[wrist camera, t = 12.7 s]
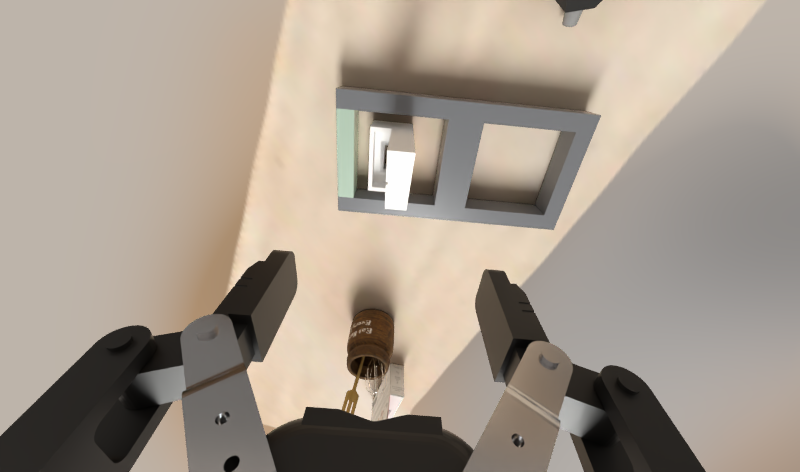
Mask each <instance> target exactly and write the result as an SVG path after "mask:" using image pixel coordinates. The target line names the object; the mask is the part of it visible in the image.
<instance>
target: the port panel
mask: <svg viewBox="0 0 800 472" xmlns="http://www.w3.org/2000/svg"><path fill="white" fill-rule="evenodd" d="M358 111H368V112H378V113H388V114H398V115H408V116H418V117H428V118H438V119H445V122H444V128H443V134H442V141H441V147H440V153H439V159H438V166H437V172H436V178H435V184H434V191H433V195H423V194H412V193H409V197H408V204H407V210H406V211H405V210H394V209H385V192H380V191H369V190H368V189H358V188H357V170H358ZM336 116H337V166H338V210H339V211H350V212H362V213H373V214H384V215H395V216H406V217H417V218H428V219H439V220H450V221H461V222H472V223H484V224H495V225H506V226H517V227H528V228H539V229H550V230H554V228H555V225H556V223H557V220H558V218H559V216H560V213H561V211H562V208H563V206H564V203H565V201H566V199H567V196H568V194H569V191H570V189H571V187H572V184H573V182H574V179H575V177H576V175H577V172H578V170H579V167H580V165H581V163H582V160H583V158H584V155H585V153H586V151H587V148H588V146H589V143H590V141H591V139H592V136H593V134H594V131H595V129H596V126H597V124H598V122H599V119H600V117H601V115H598V114H594V113H591V112H587V111H580V110H571V109H561V108H551V107H541V106H531V105H522V104H512V103H502V102H492V101H483V100H473V99H463V98H453V97H444V96H434V95H424V94H414V93H405V92H395V91H385V90H375V89H366V88H356V87H346V86H341V87H338V88H336ZM484 123H488V124H498V125H508V126H518V127H528V128H538V129H548V130H558V131H561V133H560V136H559V139H558V142H557V145H556V147H555V150H554V153H553V156H552V158H551V161H550V164H549V167H548V170H547V172H546V175H545V178H544V181H543V183H542V186H541V189H540V192H539V195H538V197H537V200H536V203H535V205H531V204H520V203H509V202H498V201H487V200H477V199H467V196H468V192H469V187H470V183H471V178H472V174H473V170H474V165H475V161H476V156H477V152H478V147H479V143H480V139H481V134H482V130H483V125H484Z"/></svg>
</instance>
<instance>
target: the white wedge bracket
mask: <svg viewBox="0 0 800 472" xmlns="http://www.w3.org/2000/svg"><path fill="white" fill-rule="evenodd" d="M385 145H388V149H387V164H384V160H385ZM414 159H415V143H414V133H413V124H408V123H398V122H388V121H378V120H374V121H373V122H372V124H371V126H370V145H369V173H368V190H369V191H380V192H385V209H394V210H405V211H406V210H407V204H408V197H409V191H410V185H411V178H412V172H413V166H414Z"/></svg>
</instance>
